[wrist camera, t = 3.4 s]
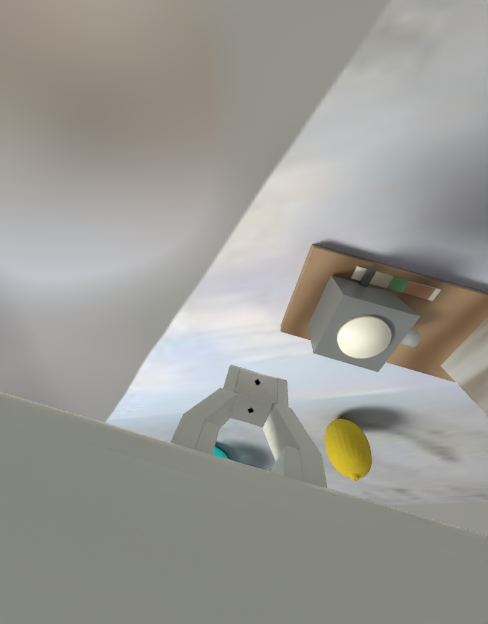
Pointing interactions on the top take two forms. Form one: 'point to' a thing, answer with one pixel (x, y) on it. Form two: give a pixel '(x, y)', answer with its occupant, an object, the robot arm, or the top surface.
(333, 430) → the lemon
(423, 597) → the robot arm
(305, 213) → the top surface
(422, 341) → the bench
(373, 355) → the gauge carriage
